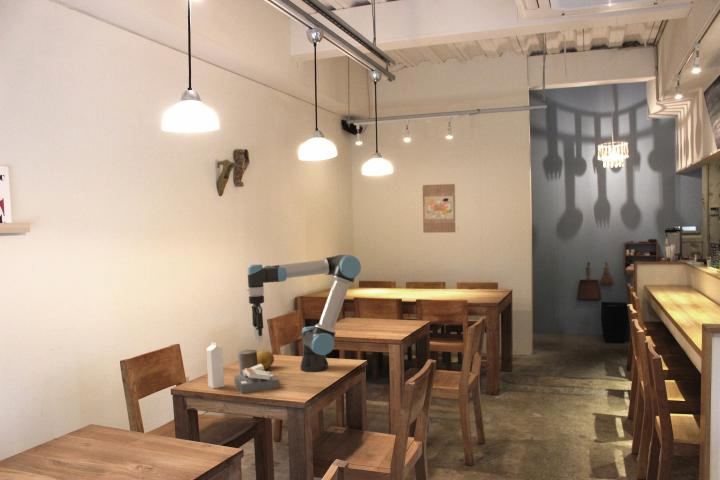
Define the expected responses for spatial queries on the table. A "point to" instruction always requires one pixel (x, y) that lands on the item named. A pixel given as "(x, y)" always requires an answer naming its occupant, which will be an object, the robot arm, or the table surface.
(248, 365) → the pillar candle
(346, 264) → the robot arm
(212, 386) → the milk
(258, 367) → the rocker
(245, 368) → the rocker
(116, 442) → the table surface
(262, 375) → the white flat box
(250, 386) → the grey tray
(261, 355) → the potato
